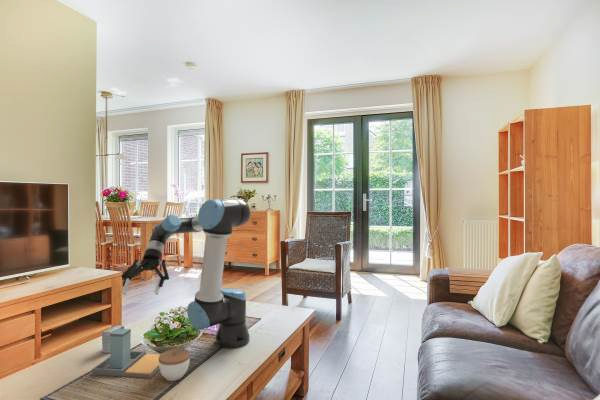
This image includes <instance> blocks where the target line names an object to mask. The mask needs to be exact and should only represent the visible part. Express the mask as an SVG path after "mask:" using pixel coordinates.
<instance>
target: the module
mask: <svg viewBox="0 0 600 400" xmlns="http://www.w3.org/2000/svg"><path fill="white" fill-rule="evenodd" d="M131 332H132V331H131V328H124V329H117V330H115V331H114V332H112V333H110V353H109V357H110V363H109V369H121V370H122V369H123V368H124V367H125V366H127V365H128V364H129V363H130V362H131V357H130V351H131V335H132V333H131Z"/></svg>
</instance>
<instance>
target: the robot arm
mask: <svg viewBox="0 0 600 400" xmlns="http://www.w3.org/2000/svg"><path fill="white" fill-rule="evenodd" d="M251 214H252V213H251V207H250V206H249V205H248V203H246V202H245V201H244V200H241V199H237V198H233V199H229V198H225V199H224V198H214V199H207V200H205V201H204V202H203V203H202V204H201V205H200V208H199V210H198V215H195V216H192V217H191V216H190V217H180V216H178V215H175V214H169V215H167V216H166V217H164V218H163V220H162V221H161V223H157V224H155V225H154V227H153V229H152V231H151V235H150V237H149V240H148V242H147V246H146V248H145V251H144V254H143V257H142V260H141V261H140V260H138V259H135V260H134V261H133V262H132V264H131V265H130V266H129V267H128V268H127V269H126V270H125V271H124V272H123V273H122V274H121V278H122V280H123V282H122V286H123V287H122V290H121V292H122V295H124V296H126V295H127V293H128V290H129V287H130V285H131V280H132V279H133V278H135V277H136V276H137V275H139V274H140V273H142V272H144V271H146V272H148V271H150V272H151V271H155V273H156V274H157V276H158V277H159V278H157V282H156V285H155V288H154V293H155V295H156V296H157V295H159V291H160V289H161V288H162V287H163V286H164V283H165V281H166V280H167V281H168V280H170V276H169V273H168V270H167V262H166V260H165V259H162V255H163V252H164V249H165V246H166V243H167V241H168V239H169V238H170V237H172V235H177V234H187V233H200V232H203V233H204V234H205V240H204V241H205V242H204V251H203V258H202V267H201V276H200V282H199V290H198V291H197V292H195V293H194V300H193V301H191V302H189V304H188V305H187V307H186V315H187V319H188V321H189V323H190V324H191V326H192V327H193V328H195V329H196V330H204V329H209V328H211V327H213V326H216V325H218V328H217V330H216V334H215V338H214V340H215V341H214V342H215V345H216V346H218V347H219V348H224V349H233V348H240V347H243V346H245V345H247V344H248V343H249V342H250V332H249V329H248V327H247V323H246V322H247V321H246V320H247V317H246V316H247V314H246V313H247V311H246V310H247V296H246V292H245V291H244V290H242V289H238V288H222V284H223V283H222V282H223V274H224V269H225V261H226V254H227V253H226V252H227V245H228V244H227V243H228V237H230V236H231V235H233V228H235V227H241V226H244V225H246V223H248V221H249V220H250V218H251ZM161 259H162V261H161ZM159 266H161V267H162V269H163V270H162V271H163V273H164V275H163V273H162V272H161V271H160V269H159V268H158V267H159Z"/></svg>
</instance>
